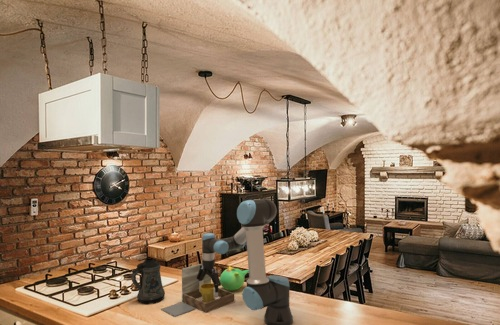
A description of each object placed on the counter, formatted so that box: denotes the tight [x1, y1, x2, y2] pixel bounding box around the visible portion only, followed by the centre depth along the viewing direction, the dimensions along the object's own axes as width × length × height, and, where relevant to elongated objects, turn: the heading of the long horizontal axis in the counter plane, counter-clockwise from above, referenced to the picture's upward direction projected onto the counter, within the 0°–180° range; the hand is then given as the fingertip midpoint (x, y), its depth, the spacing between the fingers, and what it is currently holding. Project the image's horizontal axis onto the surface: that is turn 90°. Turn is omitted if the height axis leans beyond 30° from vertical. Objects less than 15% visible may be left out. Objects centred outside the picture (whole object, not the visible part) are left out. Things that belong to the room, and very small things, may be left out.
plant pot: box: [200, 282, 216, 303], centre depth 208 cm, size 10×10×10 cm
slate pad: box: [160, 301, 197, 318], centre depth 197 cm, size 14×14×1 cm
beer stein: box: [130, 257, 166, 305], centre depth 212 cm, size 16×19×25 cm
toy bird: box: [219, 266, 249, 291], centre depth 229 cm, size 18×17×15 cm
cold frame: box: [181, 263, 235, 314], centre depth 208 cm, size 23×22×20 cm
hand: (208, 294), depth 208 cm, fingers open, 13 cm apart
